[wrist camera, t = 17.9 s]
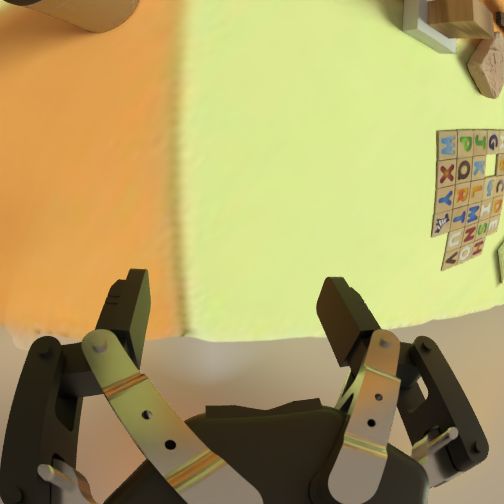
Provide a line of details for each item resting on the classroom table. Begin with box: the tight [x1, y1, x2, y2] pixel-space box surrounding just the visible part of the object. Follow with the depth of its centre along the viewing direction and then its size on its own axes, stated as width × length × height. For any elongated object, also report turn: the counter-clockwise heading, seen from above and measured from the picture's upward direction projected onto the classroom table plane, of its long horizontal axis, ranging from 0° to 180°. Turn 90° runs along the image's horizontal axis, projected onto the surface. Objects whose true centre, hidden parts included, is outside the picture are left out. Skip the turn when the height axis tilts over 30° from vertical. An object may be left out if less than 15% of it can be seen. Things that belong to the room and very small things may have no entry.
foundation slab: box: [402, 0, 457, 54], centre depth 24 cm, size 9×9×4 cm
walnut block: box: [427, 0, 494, 39], centre depth 18 cm, size 5×5×10 cm
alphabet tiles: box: [431, 129, 504, 271], centre depth 46 cm, size 33×28×1 cm
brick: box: [467, 32, 504, 99], centre depth 27 cm, size 16×8×5 cm, turn 143°
